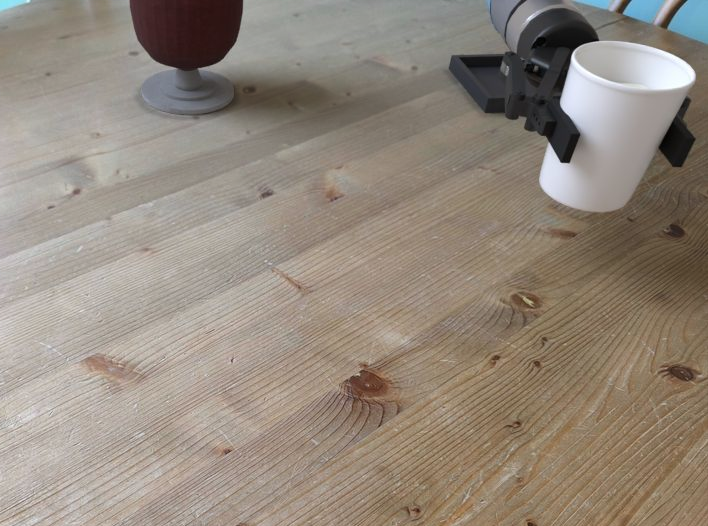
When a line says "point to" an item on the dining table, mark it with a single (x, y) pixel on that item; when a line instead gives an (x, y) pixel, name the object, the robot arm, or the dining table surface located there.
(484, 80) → the shallow tray
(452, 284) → the dining table surface
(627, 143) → the white cup
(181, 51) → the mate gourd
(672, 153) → the robot arm
